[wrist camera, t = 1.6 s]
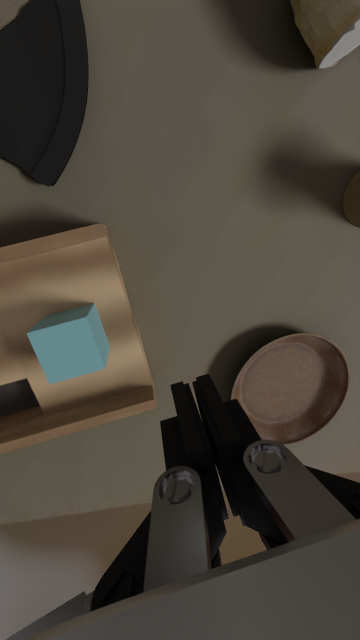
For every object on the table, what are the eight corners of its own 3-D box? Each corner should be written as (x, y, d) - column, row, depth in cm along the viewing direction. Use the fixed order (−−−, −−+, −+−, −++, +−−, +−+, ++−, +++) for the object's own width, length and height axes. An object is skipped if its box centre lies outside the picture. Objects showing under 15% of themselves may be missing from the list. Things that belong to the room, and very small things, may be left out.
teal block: (45, 316, 25) (26, 333, 21) (94, 303, 25) (86, 316, 21) (63, 360, 26) (49, 384, 22) (110, 347, 27) (105, 368, 22)
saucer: (357, 352, 35) (375, 361, 33) (297, 444, 38) (308, 459, 36) (262, 306, 31) (273, 312, 29) (203, 413, 34) (208, 427, 32)
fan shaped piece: (131, 43, 23) (131, 29, 21) (57, 193, 25) (52, 190, 24) (31, -43, 21) (23, -65, 19) (-41, 132, 23) (-53, 125, 21)
